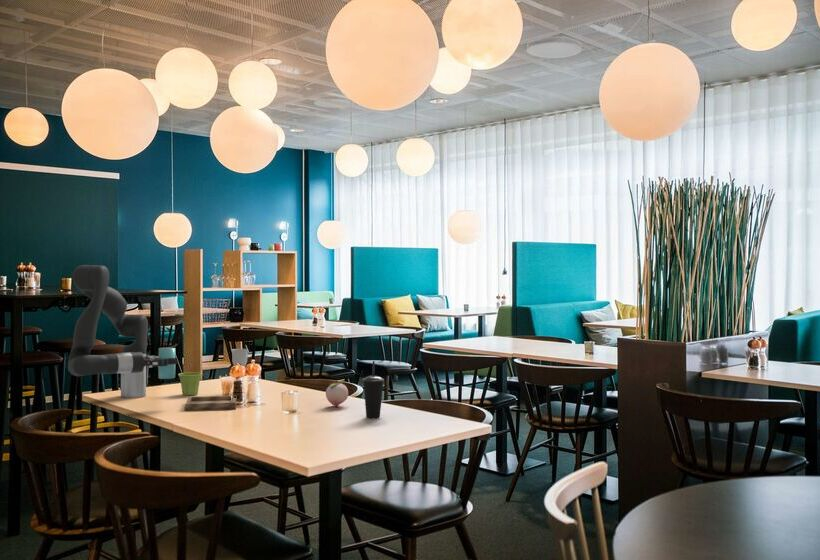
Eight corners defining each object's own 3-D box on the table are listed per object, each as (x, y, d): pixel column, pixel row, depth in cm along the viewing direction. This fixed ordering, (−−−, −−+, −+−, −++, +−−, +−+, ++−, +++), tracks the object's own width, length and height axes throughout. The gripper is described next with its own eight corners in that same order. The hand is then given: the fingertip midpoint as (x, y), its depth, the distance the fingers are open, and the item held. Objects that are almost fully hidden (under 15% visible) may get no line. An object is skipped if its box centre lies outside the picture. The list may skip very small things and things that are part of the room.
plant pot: (194, 397, 305) (194, 375, 305) (173, 395, 308) (173, 374, 308) (206, 393, 314) (206, 372, 314) (186, 392, 317) (186, 371, 317)
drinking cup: (360, 418, 263) (360, 362, 263) (364, 414, 271) (365, 359, 271) (381, 419, 262) (382, 362, 262) (385, 415, 270) (386, 360, 270)
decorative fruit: (343, 409, 281) (343, 382, 281) (323, 408, 283) (323, 381, 283) (351, 405, 291) (351, 379, 291) (331, 404, 292) (331, 378, 292)
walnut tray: (185, 410, 275) (185, 403, 275) (188, 403, 291) (188, 396, 291) (235, 409, 279) (235, 402, 279) (236, 402, 294) (236, 395, 294)
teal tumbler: (157, 379, 277) (157, 349, 276) (159, 376, 282) (159, 347, 282) (174, 378, 278) (174, 349, 278) (175, 376, 284) (176, 347, 284)
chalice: (250, 390, 323) (250, 348, 323) (245, 393, 316) (245, 350, 316) (233, 390, 324) (234, 348, 324) (228, 392, 317) (228, 350, 317)
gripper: (135, 354, 265) (181, 351, 276) (122, 350, 277) (166, 348, 287) (135, 375, 266) (181, 372, 276) (121, 370, 277) (166, 367, 287)
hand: (173, 360), depth 282 cm, fingers closed on teal tumbler, 6 cm apart
